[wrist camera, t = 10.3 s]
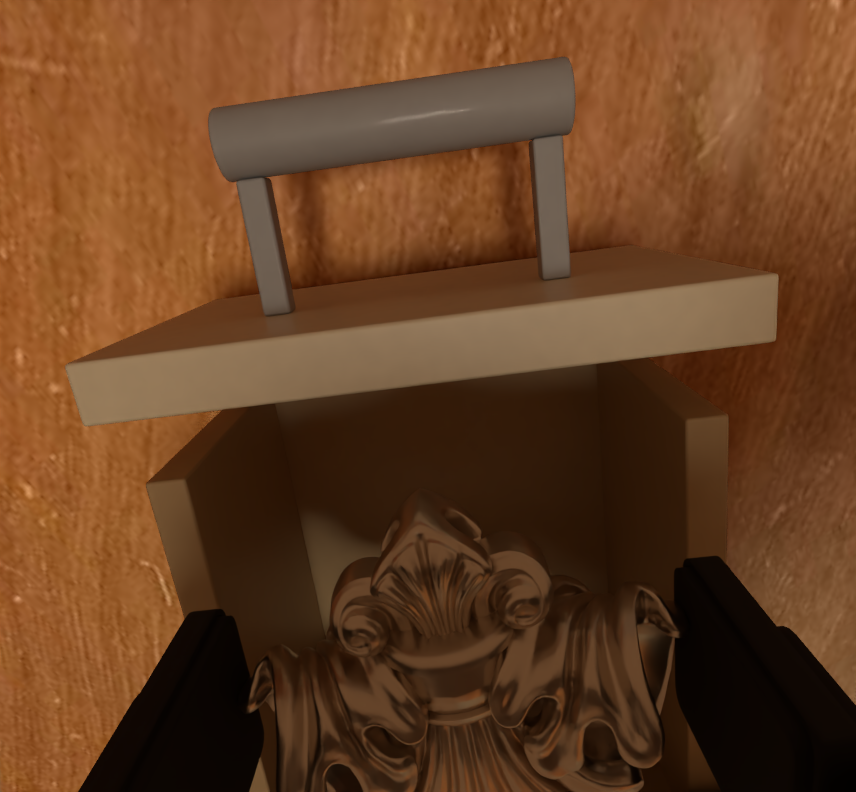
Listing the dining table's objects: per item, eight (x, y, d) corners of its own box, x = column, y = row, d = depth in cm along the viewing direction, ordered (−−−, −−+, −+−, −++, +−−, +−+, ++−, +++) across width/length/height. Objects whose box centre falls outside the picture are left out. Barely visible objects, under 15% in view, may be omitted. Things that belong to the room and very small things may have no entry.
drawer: (178, 149, 17) (-21, 104, 10) (629, 84, 16) (792, -17, 9) (300, 669, 22) (233, 905, 15) (645, 634, 22) (757, 860, 14)
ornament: (638, 416, 11) (734, 514, 7) (676, 717, 13) (767, 906, 9) (213, 502, 12) (116, 630, 8) (311, 778, 13) (269, 977, 10)
